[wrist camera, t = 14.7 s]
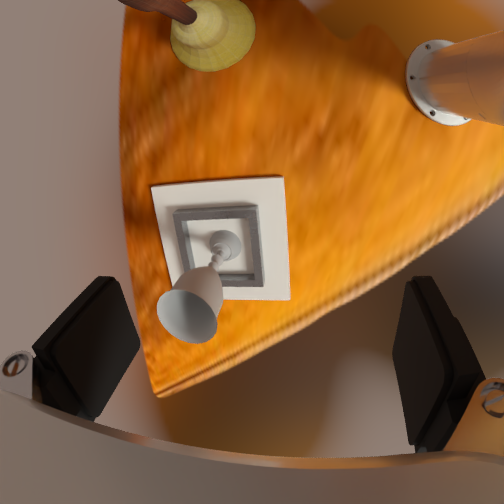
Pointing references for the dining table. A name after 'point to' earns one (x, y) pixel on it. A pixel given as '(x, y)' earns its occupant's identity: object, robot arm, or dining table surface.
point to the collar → (223, 213)
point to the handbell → (205, 30)
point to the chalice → (198, 294)
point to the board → (200, 231)
